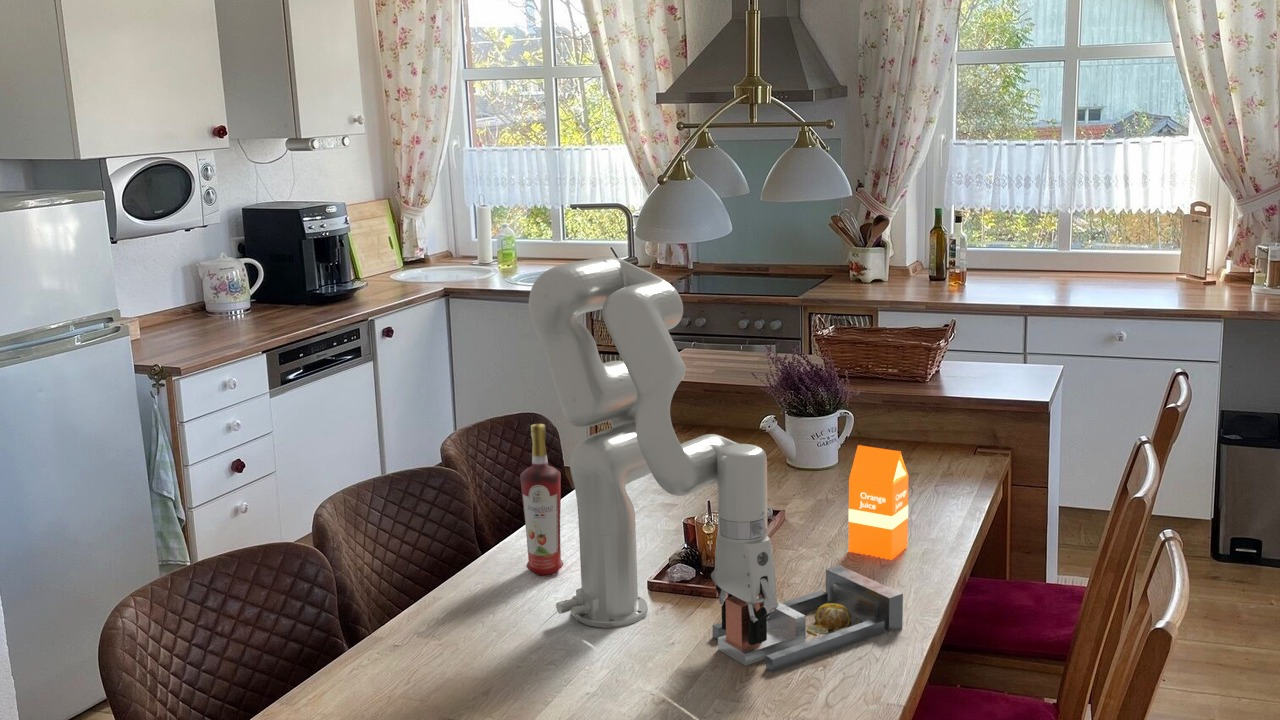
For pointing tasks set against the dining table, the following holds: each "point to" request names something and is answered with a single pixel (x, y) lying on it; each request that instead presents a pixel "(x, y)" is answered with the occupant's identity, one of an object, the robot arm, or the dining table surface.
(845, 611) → the fruit
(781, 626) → the ram
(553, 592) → the dining table surface
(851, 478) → the orange juice
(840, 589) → the press frame
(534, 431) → the liquor
